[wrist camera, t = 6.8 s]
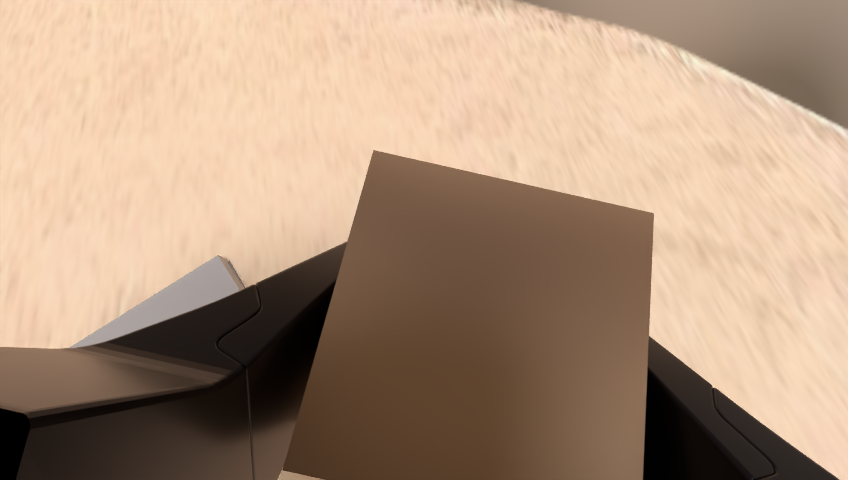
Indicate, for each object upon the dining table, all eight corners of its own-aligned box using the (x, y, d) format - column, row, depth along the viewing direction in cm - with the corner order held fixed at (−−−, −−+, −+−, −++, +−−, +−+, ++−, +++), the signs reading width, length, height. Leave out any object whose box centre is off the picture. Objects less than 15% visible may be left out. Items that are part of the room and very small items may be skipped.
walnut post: (481, 411, 15) (639, 549, 5) (360, 384, 15) (282, 469, 5) (500, 289, 16) (654, 213, 6) (389, 264, 16) (373, 150, 6)
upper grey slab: (154, 495, 19) (140, 504, 18) (79, 350, 20) (63, 351, 19) (304, 384, 21) (300, 386, 20) (226, 258, 22) (217, 255, 21)
